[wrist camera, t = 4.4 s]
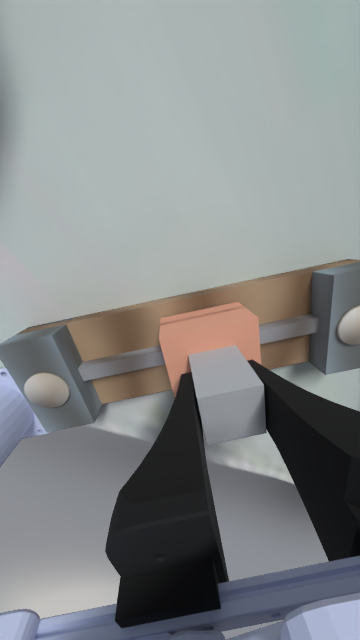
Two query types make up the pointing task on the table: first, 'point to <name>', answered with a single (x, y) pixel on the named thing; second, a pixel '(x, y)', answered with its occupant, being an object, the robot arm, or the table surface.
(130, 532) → the robot arm
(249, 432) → the carriage
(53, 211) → the table surface
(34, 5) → the table surface
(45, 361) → the rail
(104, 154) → the table surface
